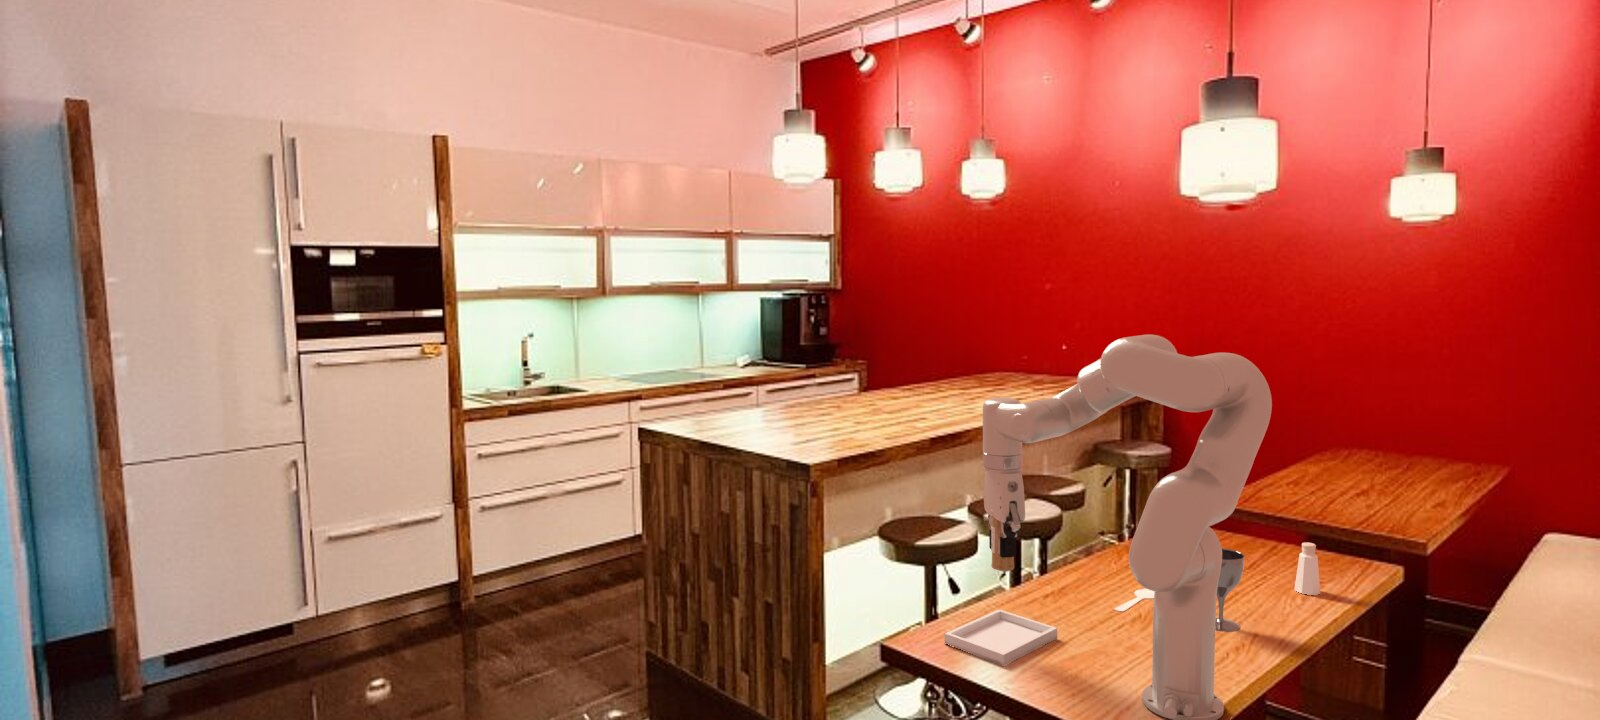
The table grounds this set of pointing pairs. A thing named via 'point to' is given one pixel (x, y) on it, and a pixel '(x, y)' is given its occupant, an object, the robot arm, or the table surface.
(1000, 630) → the tray
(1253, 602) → the table surface
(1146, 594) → the spoon
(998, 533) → the sprinkles bottle
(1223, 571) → the wine glass
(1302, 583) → the salt shaker
